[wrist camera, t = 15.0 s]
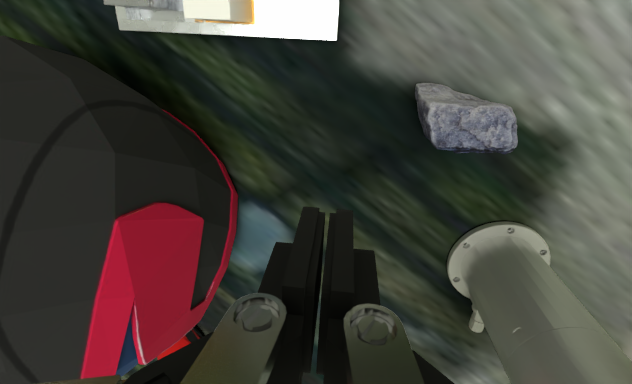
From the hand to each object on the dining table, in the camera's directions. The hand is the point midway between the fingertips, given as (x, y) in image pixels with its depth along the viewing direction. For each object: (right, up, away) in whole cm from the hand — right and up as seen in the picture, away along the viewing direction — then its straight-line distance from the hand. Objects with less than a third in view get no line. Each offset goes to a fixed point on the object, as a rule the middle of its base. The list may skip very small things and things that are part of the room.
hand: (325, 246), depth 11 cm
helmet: (-24, +5, +33) cm, 41 cm away
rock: (+15, +12, +26) cm, 32 cm away
